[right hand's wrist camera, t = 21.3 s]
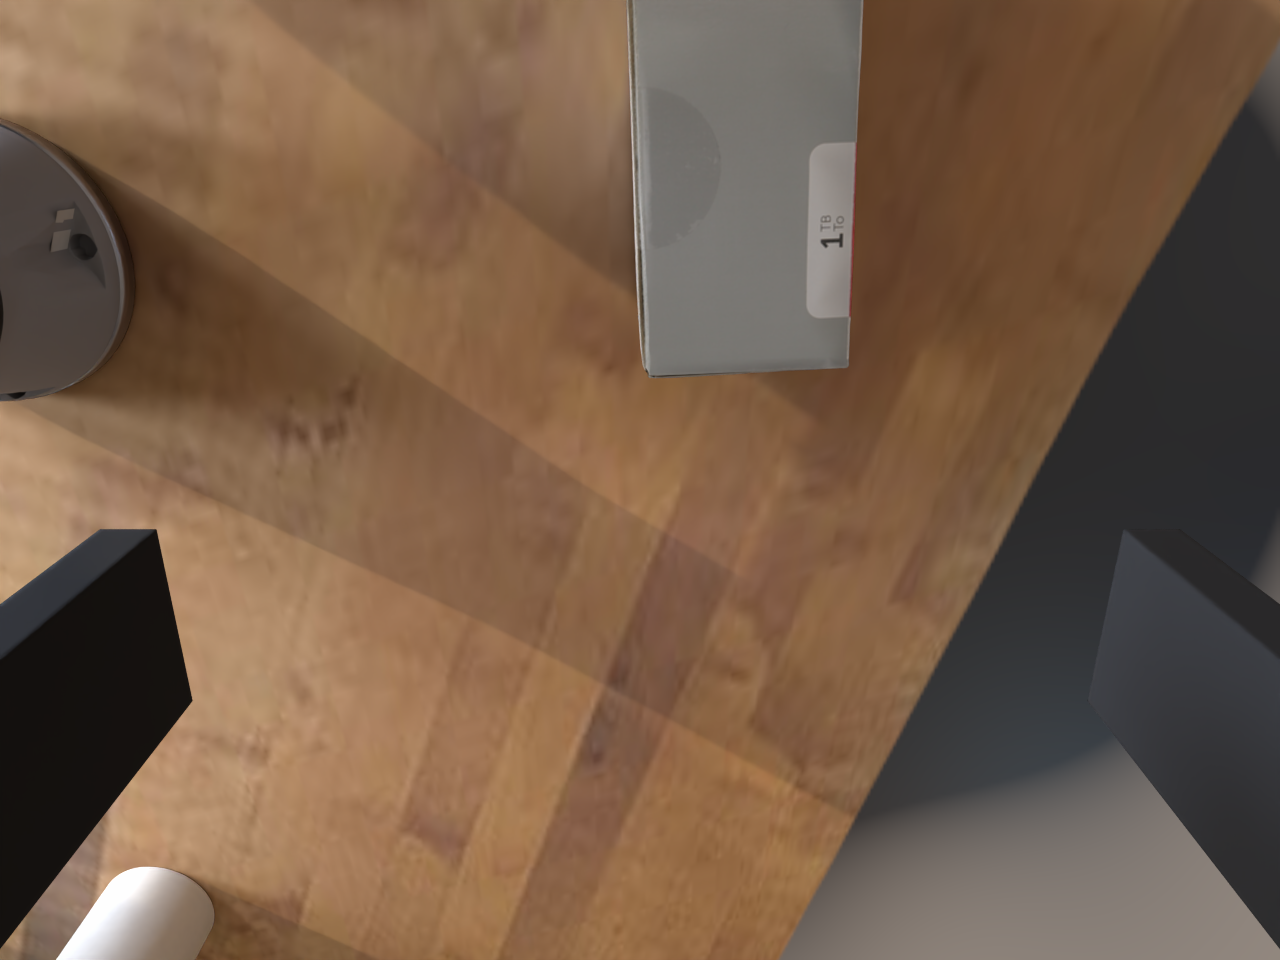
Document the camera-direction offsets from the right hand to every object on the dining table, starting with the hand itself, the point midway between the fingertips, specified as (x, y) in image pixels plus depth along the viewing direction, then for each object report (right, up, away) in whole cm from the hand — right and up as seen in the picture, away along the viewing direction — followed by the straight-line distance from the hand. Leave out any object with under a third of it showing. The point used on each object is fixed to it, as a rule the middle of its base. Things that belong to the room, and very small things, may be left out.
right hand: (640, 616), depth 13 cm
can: (-36, -30, +55) cm, 72 cm away
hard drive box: (+3, +20, +36) cm, 41 cm away
